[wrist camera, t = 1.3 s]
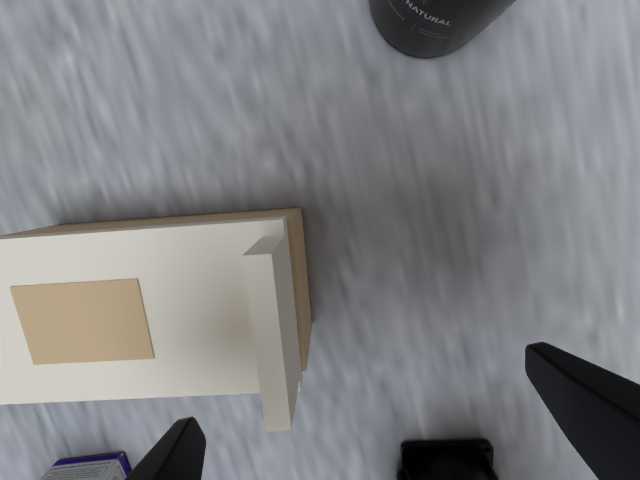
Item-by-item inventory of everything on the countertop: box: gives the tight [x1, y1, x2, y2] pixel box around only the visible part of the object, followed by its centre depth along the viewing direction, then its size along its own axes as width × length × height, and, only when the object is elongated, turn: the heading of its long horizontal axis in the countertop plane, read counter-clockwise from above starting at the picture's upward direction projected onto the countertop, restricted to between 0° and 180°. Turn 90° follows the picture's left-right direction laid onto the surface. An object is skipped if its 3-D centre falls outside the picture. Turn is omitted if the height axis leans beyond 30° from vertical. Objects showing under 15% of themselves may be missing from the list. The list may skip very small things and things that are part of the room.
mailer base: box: [2, 207, 312, 371], centre depth 18 cm, size 16×8×5 cm, turn 94°
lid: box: [0, 216, 302, 431], centre depth 13 cm, size 16×8×4 cm, turn 94°
